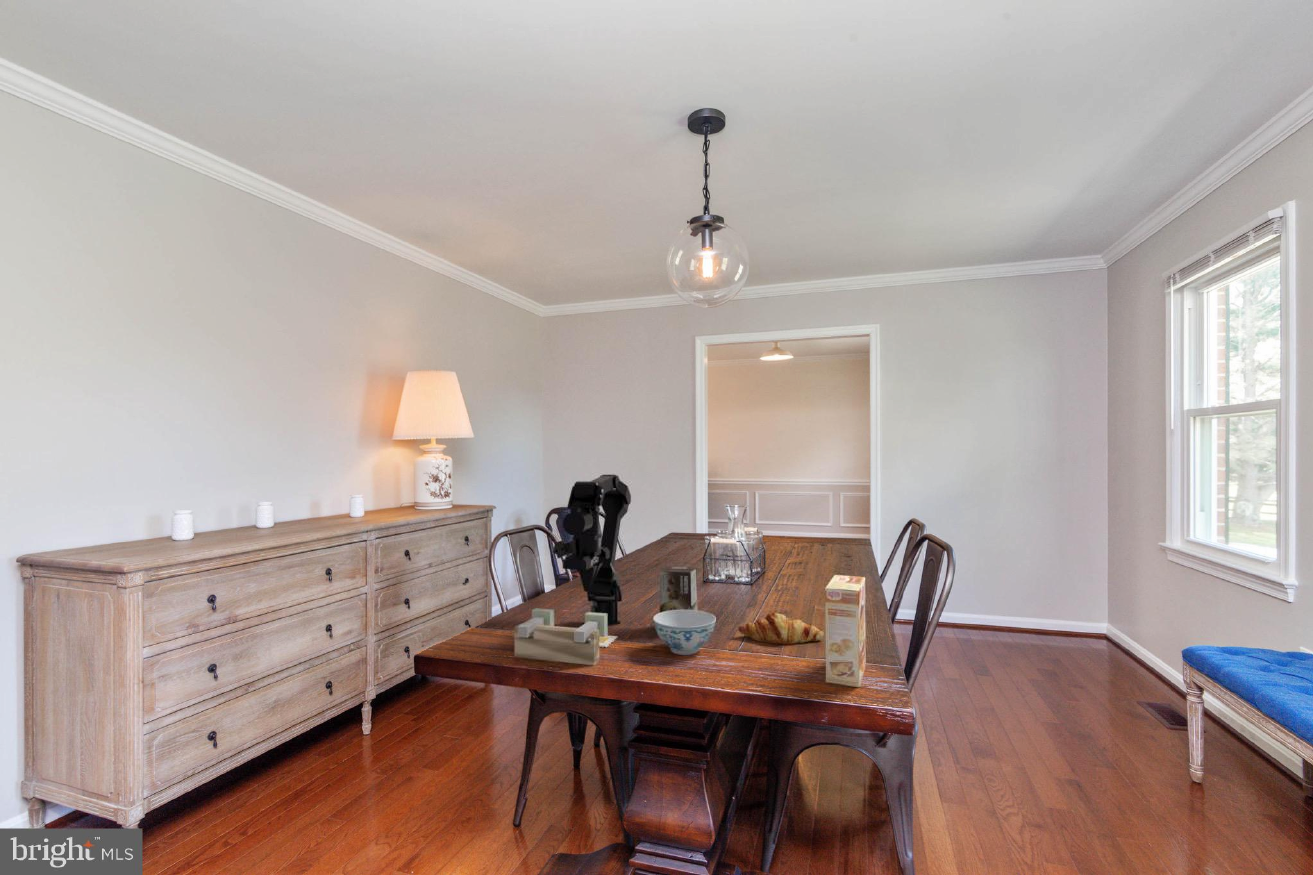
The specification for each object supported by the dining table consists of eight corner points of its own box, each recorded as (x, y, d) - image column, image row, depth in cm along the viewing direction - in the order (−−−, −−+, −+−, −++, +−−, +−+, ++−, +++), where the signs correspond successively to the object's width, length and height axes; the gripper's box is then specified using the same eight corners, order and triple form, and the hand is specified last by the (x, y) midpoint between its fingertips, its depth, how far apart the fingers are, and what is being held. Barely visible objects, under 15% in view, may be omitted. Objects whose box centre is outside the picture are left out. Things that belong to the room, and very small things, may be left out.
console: (521, 652, 148) (520, 623, 148) (599, 660, 142) (599, 629, 142) (514, 657, 145) (514, 626, 145) (594, 665, 139) (594, 633, 139)
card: (574, 634, 162) (574, 631, 162) (617, 637, 159) (617, 635, 159) (560, 643, 155) (560, 641, 155) (605, 647, 151) (605, 645, 151)
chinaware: (676, 665, 139) (675, 630, 139) (641, 647, 151) (641, 615, 152) (729, 653, 147) (728, 620, 147) (692, 636, 159) (691, 606, 160)
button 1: (535, 628, 154) (535, 608, 154) (554, 630, 152) (553, 609, 153) (512, 642, 143) (512, 620, 143) (532, 643, 142) (532, 621, 142)
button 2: (588, 632, 150) (588, 612, 150) (607, 634, 148) (607, 613, 149) (568, 647, 139) (568, 624, 139) (589, 649, 138) (589, 626, 138)
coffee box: (698, 627, 168) (698, 567, 168) (692, 634, 162) (691, 571, 162) (666, 624, 171) (665, 565, 171) (658, 631, 164) (658, 569, 165)
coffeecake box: (860, 688, 125) (859, 590, 125) (824, 682, 128) (823, 587, 128) (867, 663, 139) (866, 576, 139) (834, 659, 142) (833, 573, 142)
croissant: (822, 651, 158) (820, 619, 162) (827, 644, 149) (825, 610, 153) (738, 646, 161) (738, 615, 165) (738, 639, 152) (738, 606, 156)
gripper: (572, 524, 170) (571, 581, 170) (543, 533, 152) (542, 597, 152) (610, 526, 168) (610, 584, 167) (585, 535, 150) (585, 600, 149)
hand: (586, 591), depth 159 cm, fingers closed
